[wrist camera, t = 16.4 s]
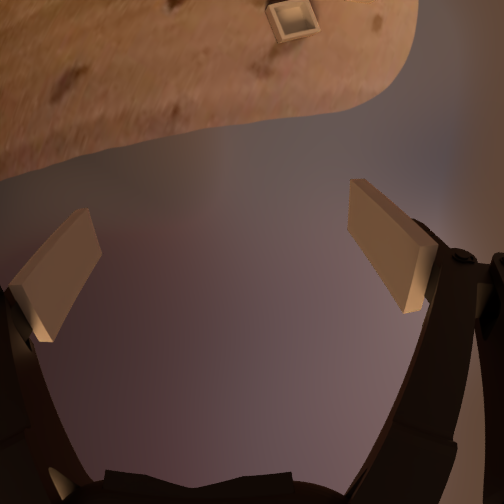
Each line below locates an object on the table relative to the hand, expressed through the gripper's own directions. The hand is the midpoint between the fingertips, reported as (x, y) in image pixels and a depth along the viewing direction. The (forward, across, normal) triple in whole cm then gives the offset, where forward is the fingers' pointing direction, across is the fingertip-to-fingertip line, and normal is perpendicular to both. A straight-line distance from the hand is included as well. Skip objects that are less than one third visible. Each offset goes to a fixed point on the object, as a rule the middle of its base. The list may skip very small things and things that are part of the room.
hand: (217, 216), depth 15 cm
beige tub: (+37, +11, +16) cm, 42 cm away
